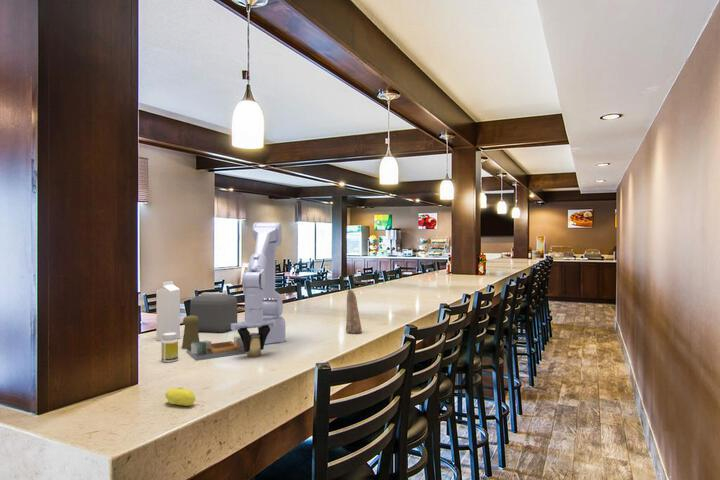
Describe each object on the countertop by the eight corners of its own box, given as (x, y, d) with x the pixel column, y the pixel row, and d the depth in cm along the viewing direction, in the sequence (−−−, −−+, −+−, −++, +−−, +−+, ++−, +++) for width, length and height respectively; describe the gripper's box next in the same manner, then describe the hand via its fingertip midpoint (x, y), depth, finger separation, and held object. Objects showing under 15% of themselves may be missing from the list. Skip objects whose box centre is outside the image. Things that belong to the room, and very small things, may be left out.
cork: (194, 349, 159) (194, 317, 159) (178, 348, 160) (178, 317, 160) (203, 345, 165) (203, 314, 165) (188, 344, 166) (188, 314, 166)
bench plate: (244, 344, 166) (244, 331, 166) (257, 351, 156) (257, 338, 156) (185, 352, 155) (185, 338, 155) (195, 360, 144) (195, 345, 144)
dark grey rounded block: (237, 328, 196) (237, 292, 196) (223, 334, 185) (223, 295, 185) (202, 327, 200) (202, 291, 200) (187, 332, 189) (187, 294, 189)
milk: (156, 340, 173) (155, 281, 173) (166, 337, 179) (166, 280, 179) (170, 341, 171) (169, 282, 171) (180, 338, 177) (179, 280, 177)
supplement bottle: (181, 359, 146) (181, 332, 146) (170, 363, 141) (170, 335, 141) (169, 358, 147) (168, 331, 147) (158, 361, 143) (158, 334, 143)
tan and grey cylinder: (258, 353, 153) (258, 332, 153) (263, 356, 149) (263, 334, 149) (244, 355, 151) (244, 333, 151) (249, 358, 147) (249, 336, 147)
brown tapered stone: (345, 333, 189) (348, 336, 183) (338, 290, 188) (341, 292, 182) (360, 330, 191) (363, 333, 185) (353, 287, 189) (357, 289, 184)
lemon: (186, 410, 102) (185, 392, 102) (160, 404, 106) (160, 387, 106) (200, 404, 106) (200, 387, 106) (175, 399, 110) (175, 382, 110)
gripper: (236, 311, 143) (236, 355, 143) (279, 307, 151) (279, 349, 151) (228, 309, 149) (228, 351, 149) (271, 305, 157) (271, 345, 157)
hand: (253, 350), depth 150 cm, fingers closed on tan and grey cylinder, 4 cm apart
